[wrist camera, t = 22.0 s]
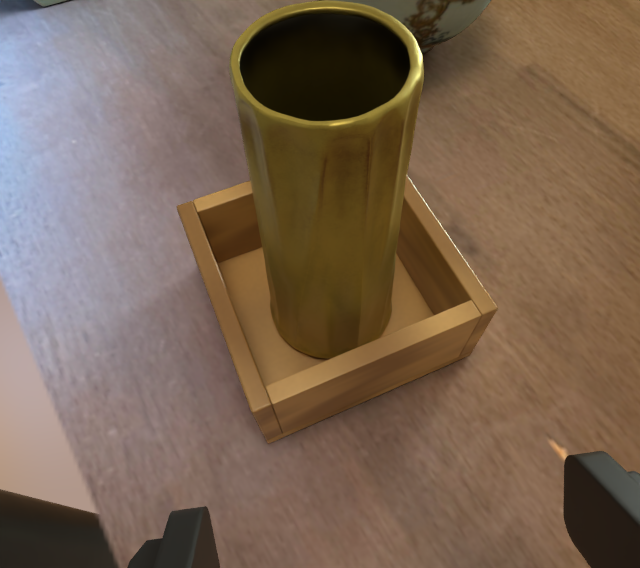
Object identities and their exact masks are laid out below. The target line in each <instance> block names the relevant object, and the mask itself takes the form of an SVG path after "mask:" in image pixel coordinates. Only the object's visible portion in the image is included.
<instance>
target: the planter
mask: <svg viewBox="0 0 640 568" xmlns="http://www.w3.org/2000/svg"><path fill="white" fill-rule="evenodd" d="M34 1H35V2H36V3H38V4H40V5H41V6H48V5H52V4H56V3H60V2H63V1H67V0H34Z"/></svg>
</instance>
